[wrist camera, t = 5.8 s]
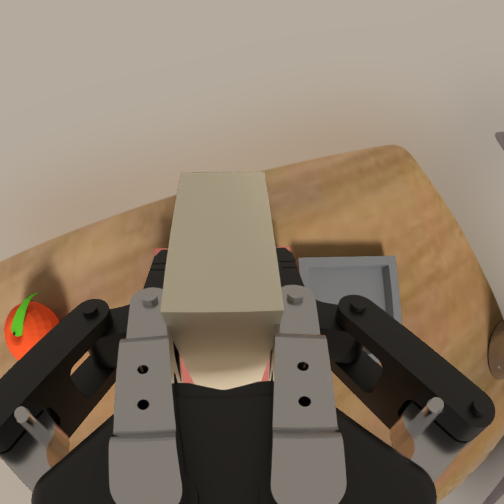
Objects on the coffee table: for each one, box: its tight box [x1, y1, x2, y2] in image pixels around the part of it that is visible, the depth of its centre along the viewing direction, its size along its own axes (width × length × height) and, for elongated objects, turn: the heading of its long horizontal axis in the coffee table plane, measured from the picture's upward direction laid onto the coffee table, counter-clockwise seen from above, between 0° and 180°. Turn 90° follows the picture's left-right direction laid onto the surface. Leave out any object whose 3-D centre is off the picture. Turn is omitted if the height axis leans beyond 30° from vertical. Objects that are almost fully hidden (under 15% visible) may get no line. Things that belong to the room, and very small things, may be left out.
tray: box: [295, 256, 402, 362], centre depth 30 cm, size 11×11×2 cm
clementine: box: [4, 292, 59, 360], centre depth 24 cm, size 8×7×7 cm
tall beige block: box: [160, 172, 284, 390], centre depth 13 cm, size 3×6×12 cm, turn 2°
